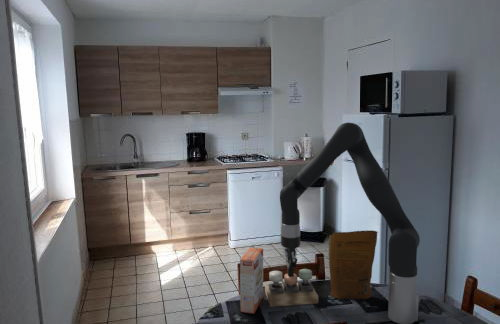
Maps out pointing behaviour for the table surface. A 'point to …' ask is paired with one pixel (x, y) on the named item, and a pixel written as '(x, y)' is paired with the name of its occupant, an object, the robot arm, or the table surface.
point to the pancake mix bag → (351, 263)
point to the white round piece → (276, 277)
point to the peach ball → (290, 280)
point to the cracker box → (251, 280)
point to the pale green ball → (305, 275)
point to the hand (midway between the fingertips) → (290, 275)
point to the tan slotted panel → (291, 294)
